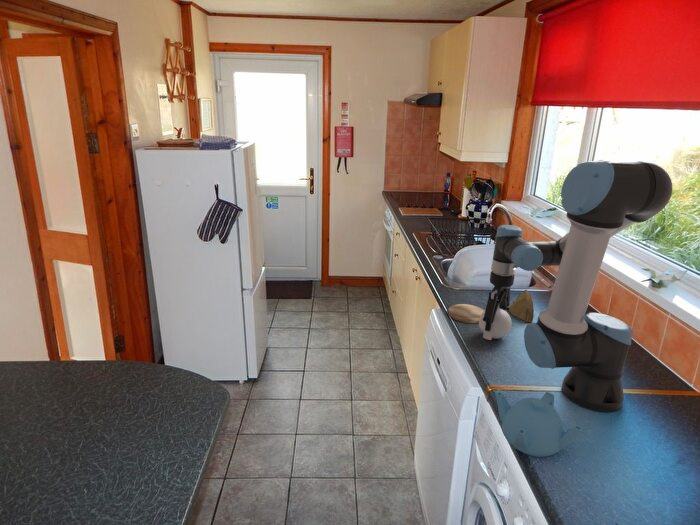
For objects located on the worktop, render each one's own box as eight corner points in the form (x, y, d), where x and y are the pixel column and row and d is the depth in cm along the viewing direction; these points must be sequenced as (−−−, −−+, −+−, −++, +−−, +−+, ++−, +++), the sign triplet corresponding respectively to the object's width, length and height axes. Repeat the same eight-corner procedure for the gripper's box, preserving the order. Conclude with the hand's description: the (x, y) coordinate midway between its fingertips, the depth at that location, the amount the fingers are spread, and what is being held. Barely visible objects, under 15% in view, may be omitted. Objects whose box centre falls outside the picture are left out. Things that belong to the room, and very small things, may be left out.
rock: (541, 319, 167) (538, 305, 176) (530, 301, 165) (527, 288, 174) (514, 331, 172) (512, 316, 181) (502, 313, 170) (501, 299, 179)
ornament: (471, 332, 161) (475, 301, 157) (493, 327, 165) (498, 296, 161) (492, 346, 152) (497, 313, 148) (515, 340, 157) (520, 307, 153)
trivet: (477, 326, 165) (477, 323, 165) (441, 315, 173) (442, 312, 173) (492, 314, 176) (492, 310, 175) (458, 303, 184) (458, 300, 183)
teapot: (578, 463, 104) (588, 423, 100) (513, 464, 103) (521, 424, 99) (547, 419, 118) (554, 383, 114) (489, 419, 117) (495, 383, 113)
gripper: (501, 285, 140) (491, 349, 148) (525, 266, 157) (515, 324, 165) (477, 278, 144) (469, 341, 152) (504, 261, 162) (495, 318, 169)
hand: (493, 332), depth 158 cm, fingers closed on ornament, 10 cm apart
